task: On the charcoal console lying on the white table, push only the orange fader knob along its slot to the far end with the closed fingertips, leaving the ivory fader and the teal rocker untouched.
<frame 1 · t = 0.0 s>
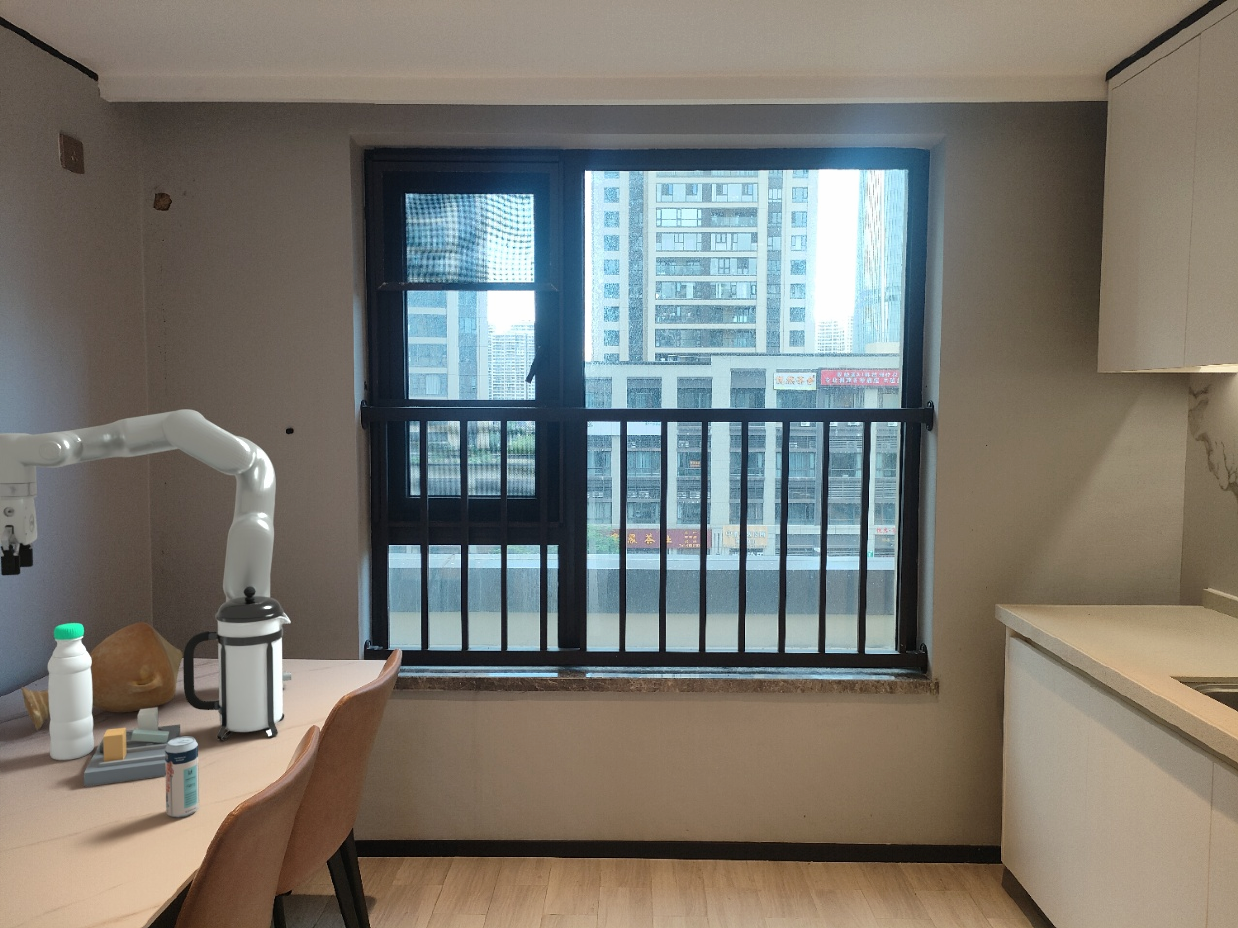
hand: (17, 570, 180), 31 cm above the table, fingers open, 9 cm apart
panel: (135, 759, 159), on the table
water bottle: (72, 754, 161), on the table
orange fader: (115, 745, 153), point 5 cm above the table, slide at 0.0 cm
teal rocker: (150, 735, 160), point 4 cm above the table, hinge at -12.0°
jug: (107, 714, 183), on the table
beer can: (182, 813, 138), on the table
coffee press: (244, 731, 174), on the table
ivory fader: (148, 723, 164), point 5 cm above the table, slide at 0.0 cm
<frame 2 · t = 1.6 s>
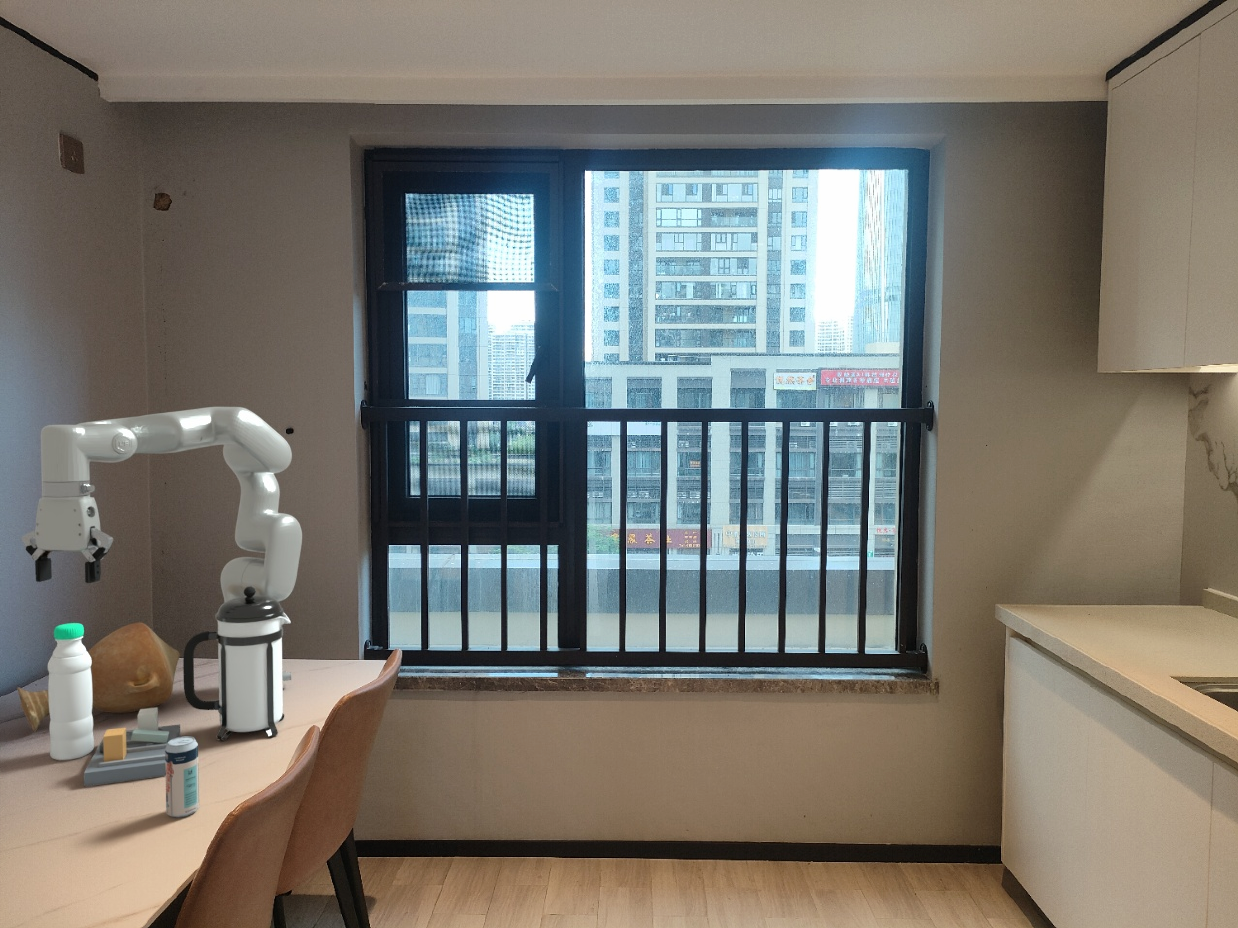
hand: (68, 581, 159), 34 cm above the table, fingers open, 9 cm apart
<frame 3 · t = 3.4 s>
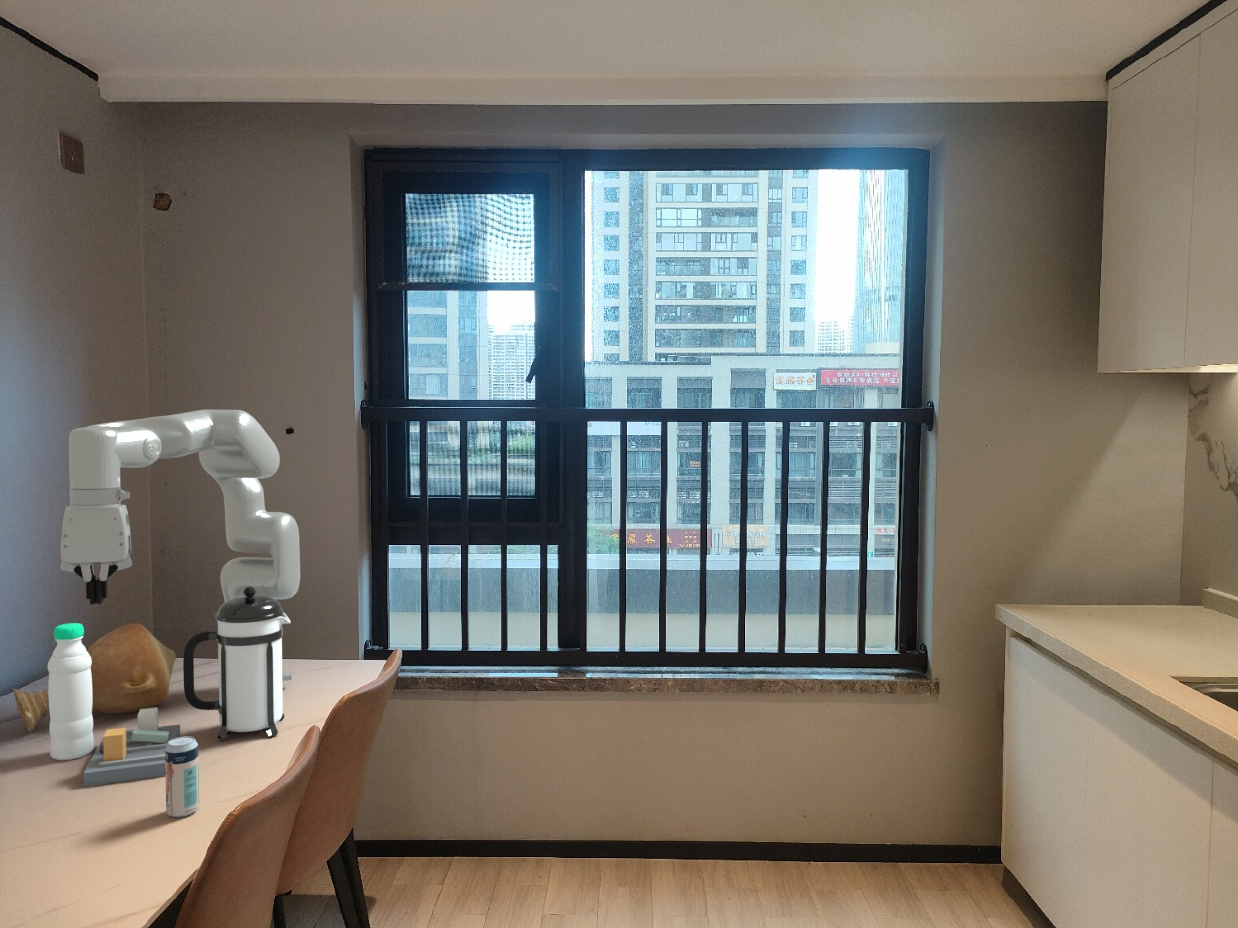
hand: (97, 602, 148), 32 cm above the table, fingers closed
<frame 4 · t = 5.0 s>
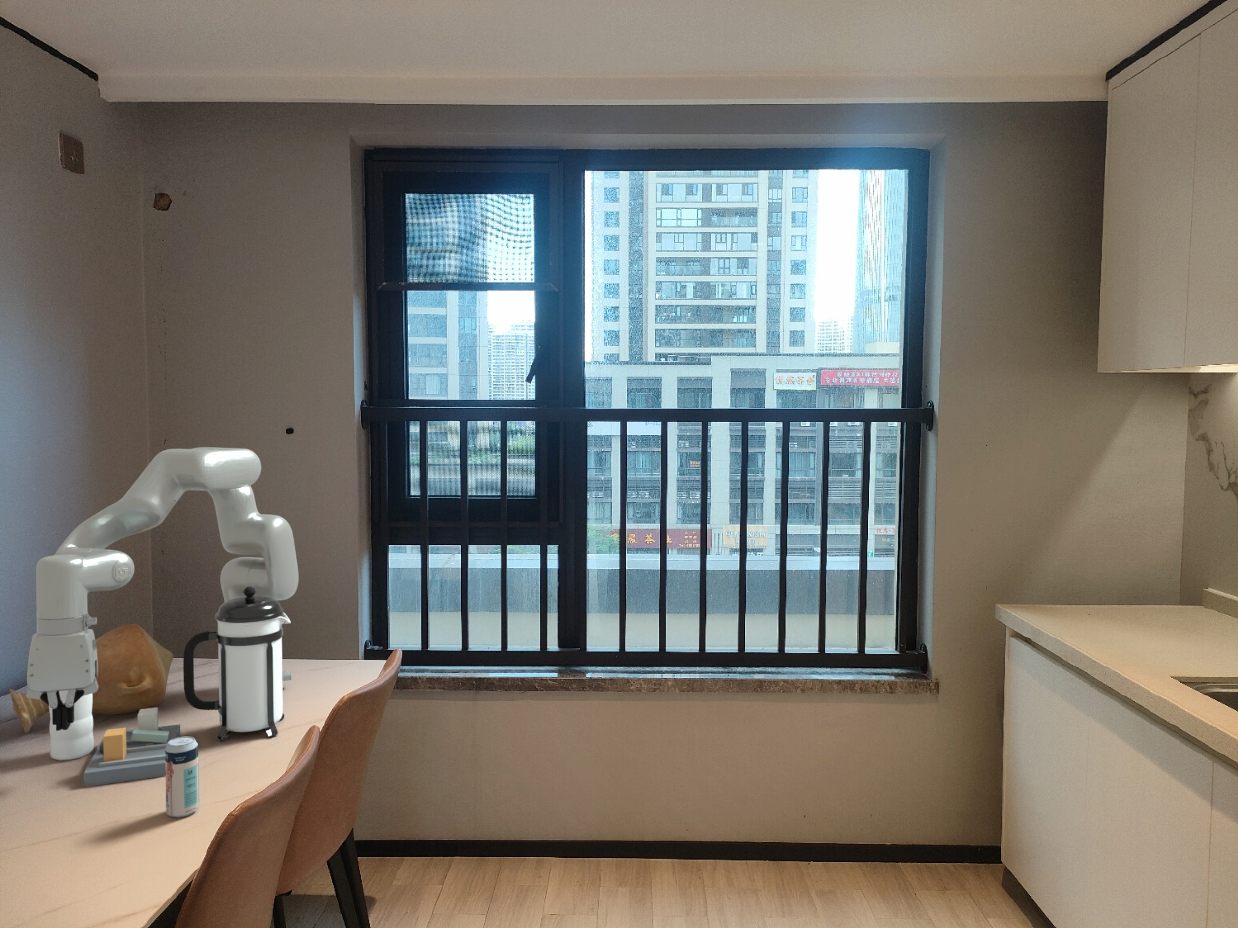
hand: (63, 727, 150), 9 cm above the table, fingers closed
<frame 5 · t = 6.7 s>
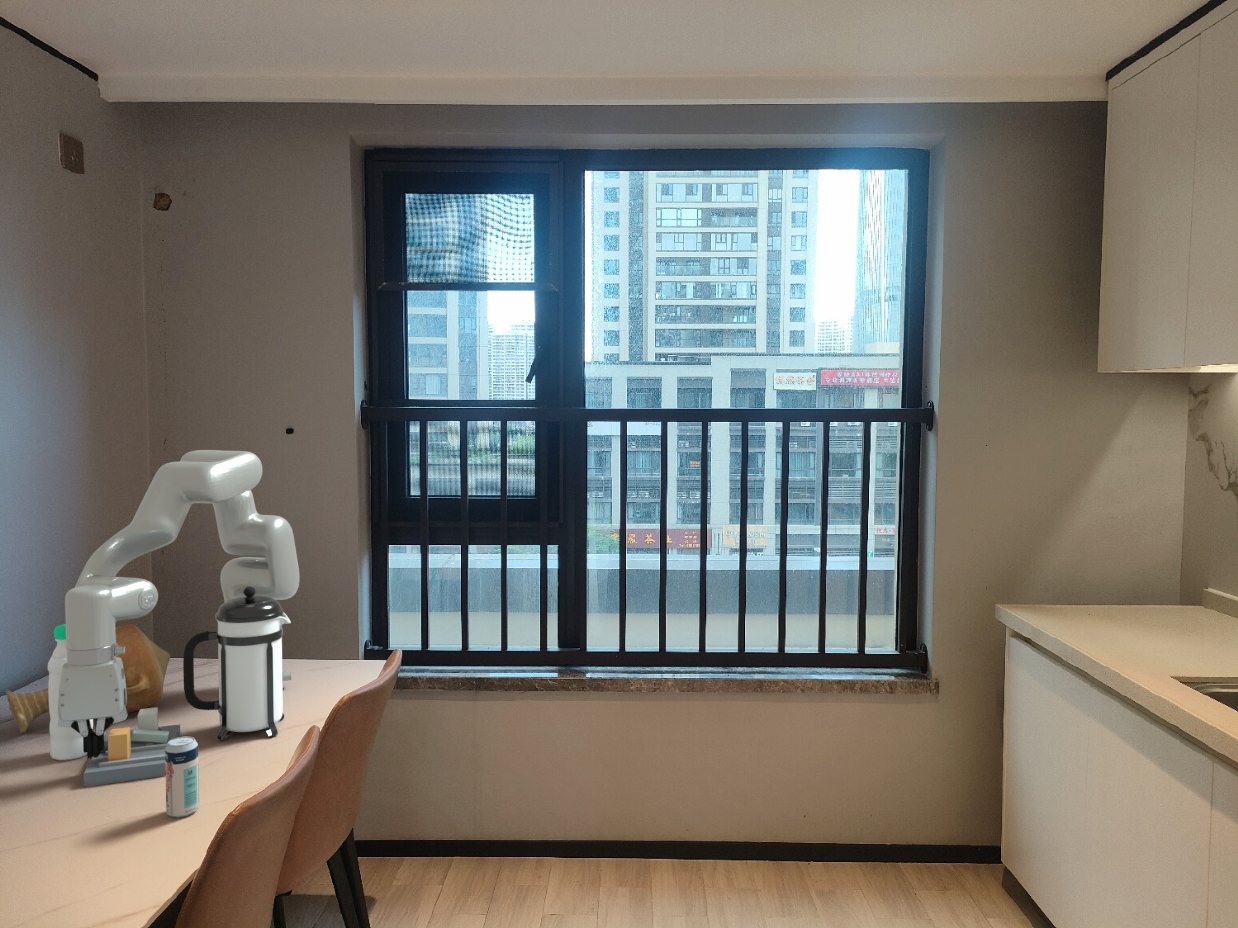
hand: (94, 754, 152), 4 cm above the table, fingers closed
orange fader: (119, 744, 153), point 5 cm above the table, slide at 0.7 cm, touching gripper
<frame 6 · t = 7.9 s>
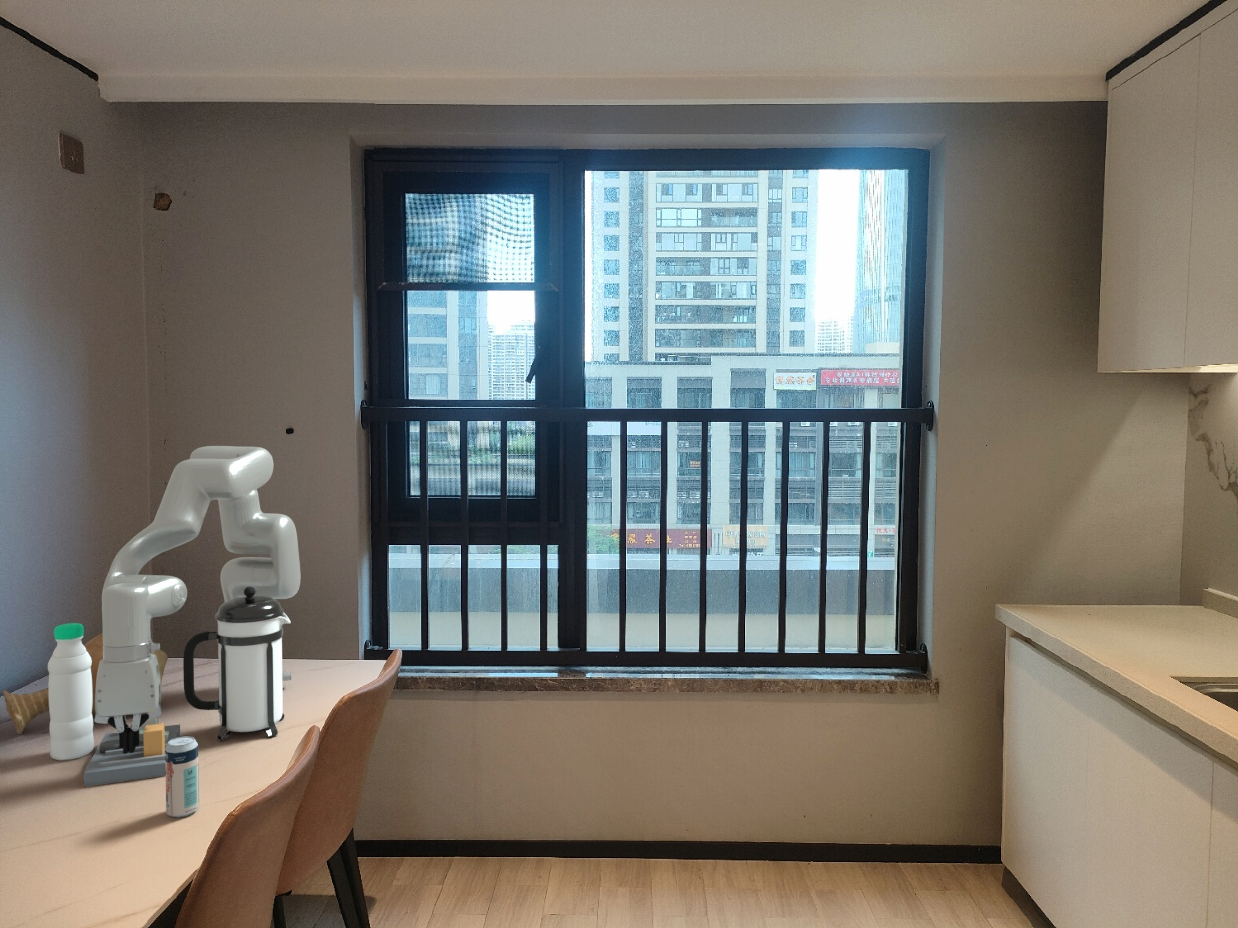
hand: (129, 750, 154), 4 cm above the table, fingers closed
orange fader: (154, 740, 155), point 5 cm above the table, slide at 6.3 cm, touching gripper
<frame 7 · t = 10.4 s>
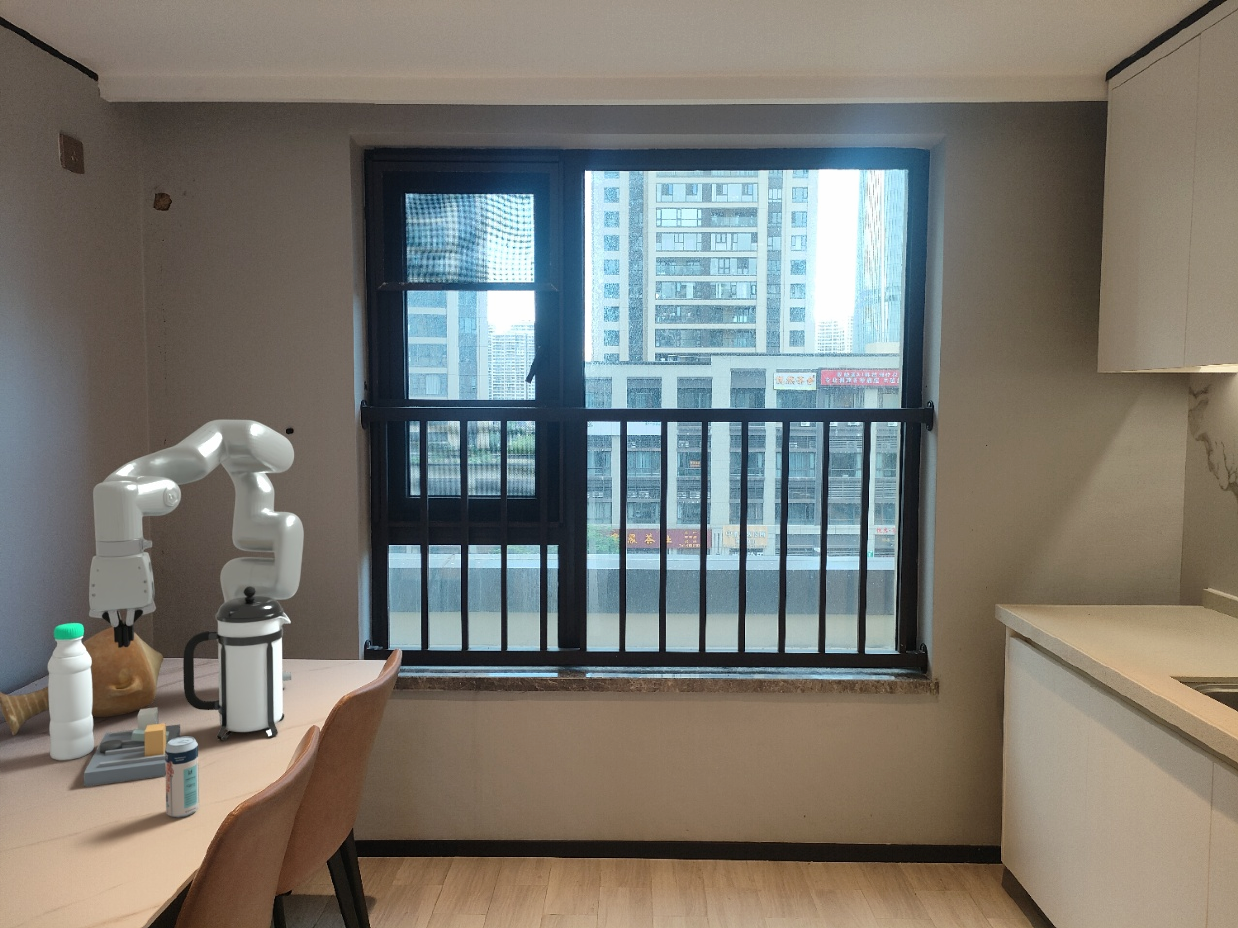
hand: (124, 645, 157), 22 cm above the table, fingers closed
orange fader: (155, 740, 156), point 5 cm above the table, slide at 6.5 cm
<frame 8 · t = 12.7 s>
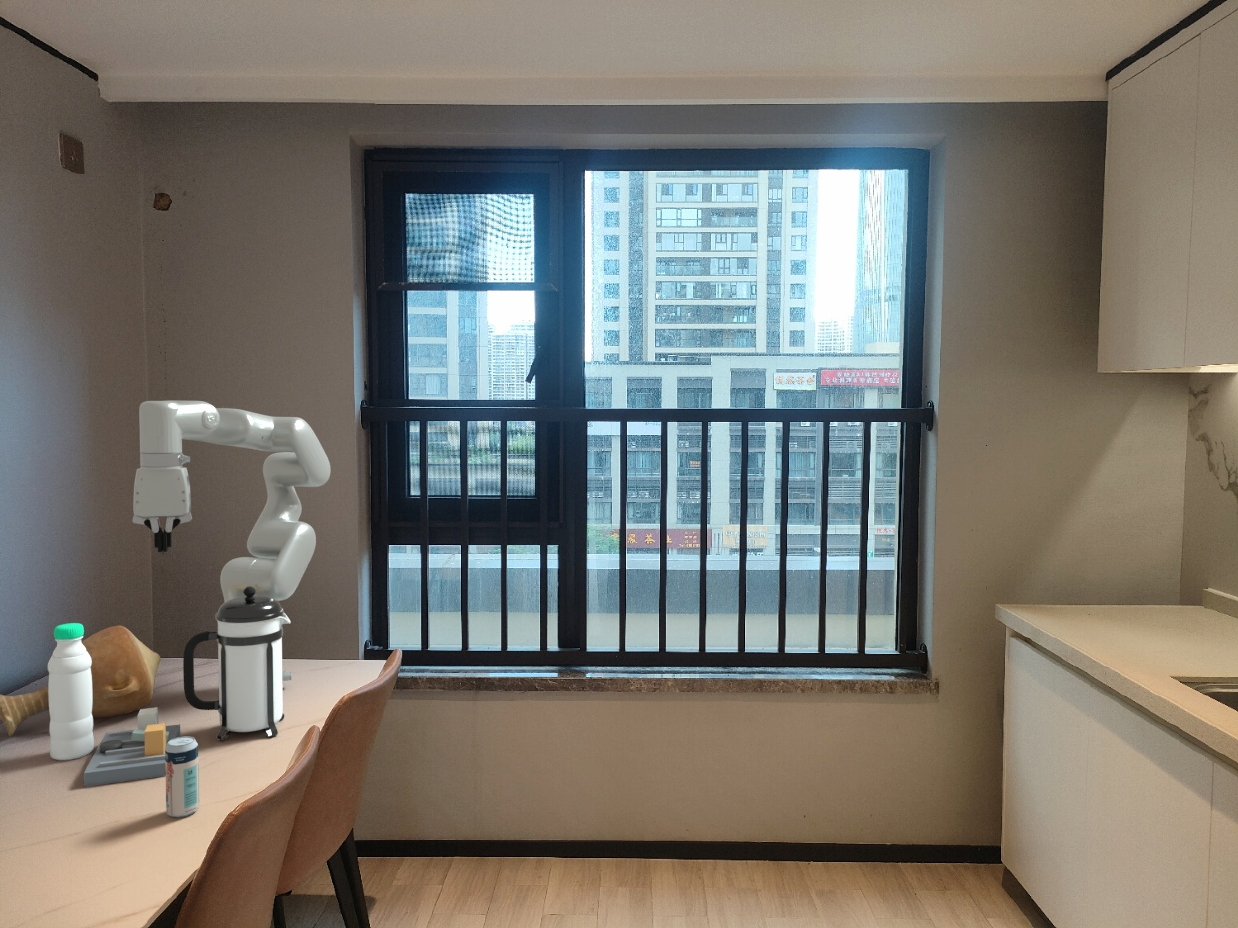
hand: (163, 550, 172), 37 cm above the table, fingers closed
at the end: orange fader slide at 6.5 cm; ivory fader slide at 0.0 cm; teal rocker at -12° (first picture: -12°) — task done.
